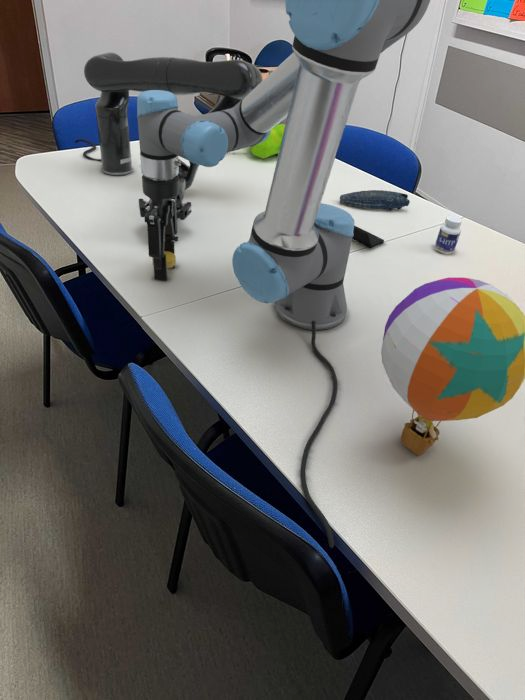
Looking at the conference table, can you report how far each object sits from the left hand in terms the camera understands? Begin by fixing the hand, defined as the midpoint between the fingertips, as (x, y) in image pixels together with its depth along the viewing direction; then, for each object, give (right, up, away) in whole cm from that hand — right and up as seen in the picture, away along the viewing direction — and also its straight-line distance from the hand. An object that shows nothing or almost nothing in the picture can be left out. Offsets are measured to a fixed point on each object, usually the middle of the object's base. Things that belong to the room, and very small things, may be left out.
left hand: (159, 221), depth 127 cm
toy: (+50, -47, -42) cm, 81 cm away
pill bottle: (+74, -4, +14) cm, 76 cm away
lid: (+3, -10, -9) cm, 14 cm away
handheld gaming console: (+51, -2, +14) cm, 53 cm away
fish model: (+59, +13, +33) cm, 69 cm away
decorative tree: (+23, +40, +63) cm, 78 cm away
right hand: (+3, -13, -6) cm, 15 cm away
